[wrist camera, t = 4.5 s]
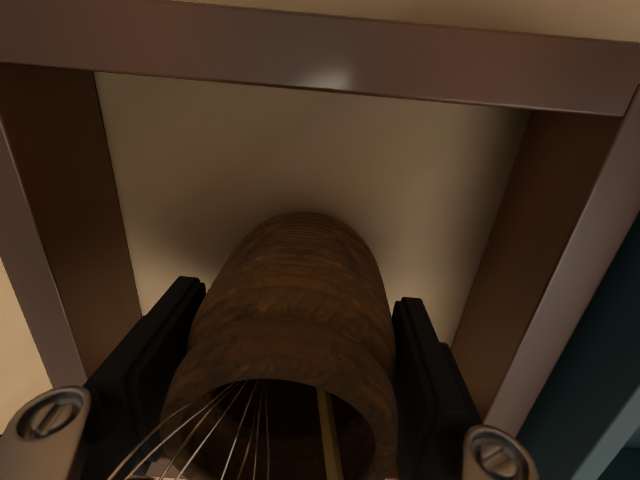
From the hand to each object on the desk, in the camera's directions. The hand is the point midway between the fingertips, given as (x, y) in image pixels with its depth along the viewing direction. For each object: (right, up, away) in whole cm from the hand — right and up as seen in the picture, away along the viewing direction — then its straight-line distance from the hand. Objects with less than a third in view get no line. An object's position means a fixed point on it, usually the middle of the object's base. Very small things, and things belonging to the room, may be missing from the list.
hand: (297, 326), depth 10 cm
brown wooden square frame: (0, +1, +3) cm, 3 cm away
